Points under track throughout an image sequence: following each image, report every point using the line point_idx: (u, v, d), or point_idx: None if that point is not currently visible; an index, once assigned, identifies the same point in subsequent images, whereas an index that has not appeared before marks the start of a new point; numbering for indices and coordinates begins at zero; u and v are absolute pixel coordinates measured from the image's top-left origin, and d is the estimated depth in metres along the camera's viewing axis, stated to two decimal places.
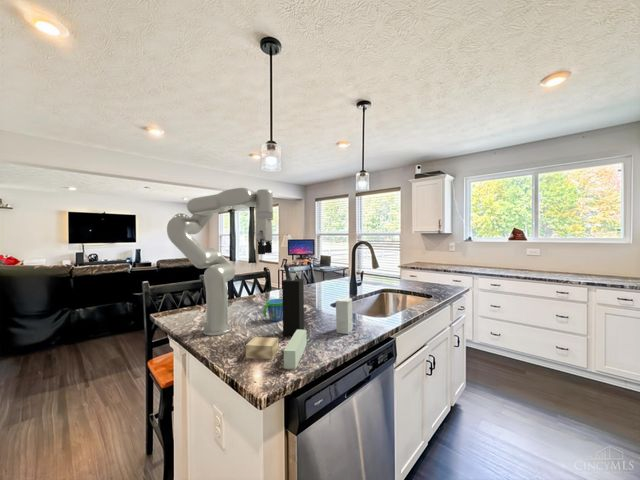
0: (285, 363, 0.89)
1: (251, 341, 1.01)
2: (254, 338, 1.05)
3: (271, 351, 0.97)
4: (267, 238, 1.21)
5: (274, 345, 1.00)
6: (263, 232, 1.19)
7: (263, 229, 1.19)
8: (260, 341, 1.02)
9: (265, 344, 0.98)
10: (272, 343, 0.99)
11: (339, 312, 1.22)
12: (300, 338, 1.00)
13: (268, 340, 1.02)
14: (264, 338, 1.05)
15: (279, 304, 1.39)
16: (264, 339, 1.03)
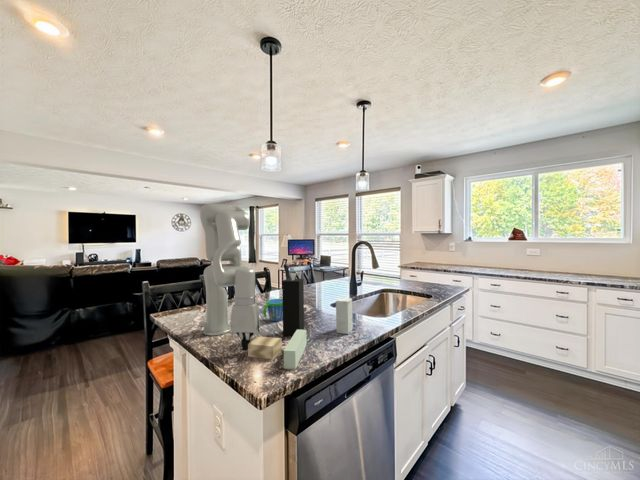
0: (285, 363, 0.89)
1: (254, 340, 1.02)
2: (258, 337, 1.06)
3: (272, 351, 0.97)
4: None
5: (276, 346, 0.99)
6: (258, 320, 1.02)
7: (258, 316, 1.02)
8: (263, 340, 1.02)
9: (266, 344, 0.98)
10: (273, 343, 0.99)
11: (339, 312, 1.22)
12: (300, 338, 1.00)
13: (271, 340, 1.02)
14: (268, 337, 1.05)
15: (279, 304, 1.39)
16: (267, 339, 1.04)
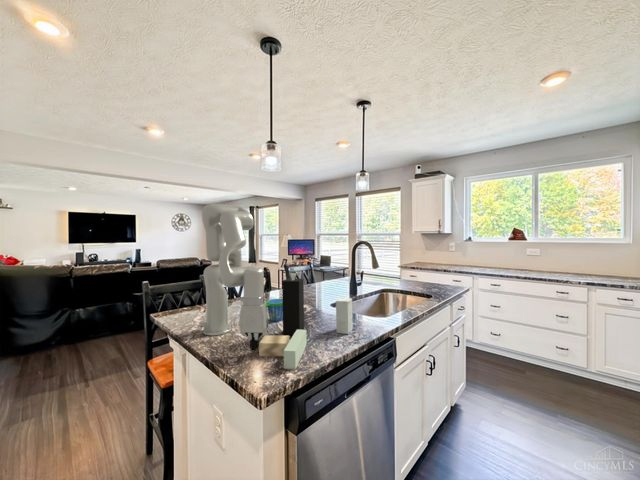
0: (285, 363, 0.89)
1: (263, 339, 1.03)
2: (265, 336, 1.06)
3: (284, 348, 0.99)
4: None
5: (287, 343, 1.02)
6: (267, 320, 1.02)
7: (267, 316, 1.02)
8: (272, 339, 1.03)
9: (278, 342, 1.00)
10: (284, 340, 1.02)
11: (339, 312, 1.22)
12: (300, 338, 1.00)
13: (280, 338, 1.04)
14: (275, 336, 1.07)
15: (279, 304, 1.39)
16: (275, 337, 1.05)
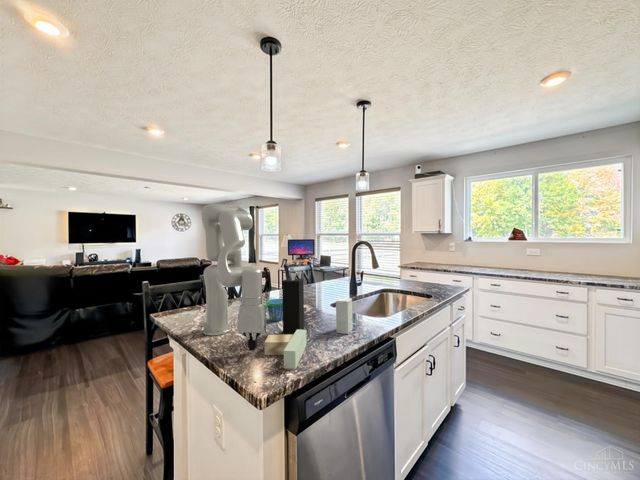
0: (285, 363, 0.89)
1: (268, 338, 1.04)
2: (270, 335, 1.07)
3: None
4: None
5: None
6: (265, 320, 1.02)
7: (265, 316, 1.02)
8: (277, 338, 1.04)
9: (283, 340, 1.01)
10: (289, 339, 1.03)
11: (339, 312, 1.22)
12: (300, 338, 1.00)
13: (285, 337, 1.05)
14: (279, 335, 1.08)
15: (279, 304, 1.39)
16: (280, 336, 1.06)
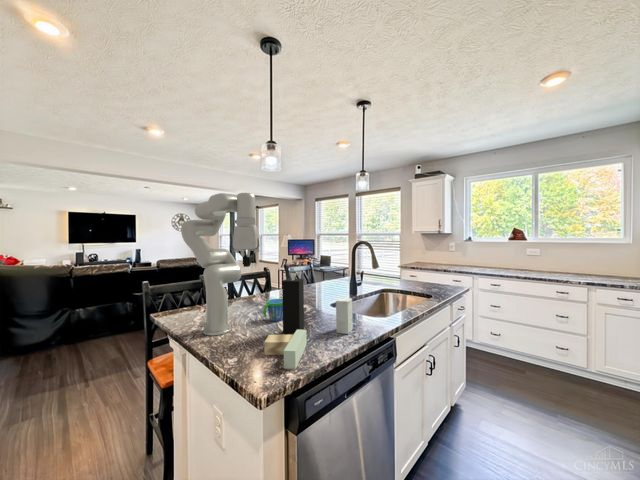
0: (285, 363, 0.89)
1: (268, 338, 1.04)
2: (270, 335, 1.07)
3: None
4: None
5: None
6: (258, 240, 1.13)
7: (258, 237, 1.13)
8: (277, 338, 1.04)
9: (283, 340, 1.01)
10: (289, 339, 1.03)
11: (339, 312, 1.22)
12: (300, 338, 1.00)
13: (285, 337, 1.05)
14: (279, 335, 1.08)
15: (279, 304, 1.39)
16: (280, 336, 1.06)
